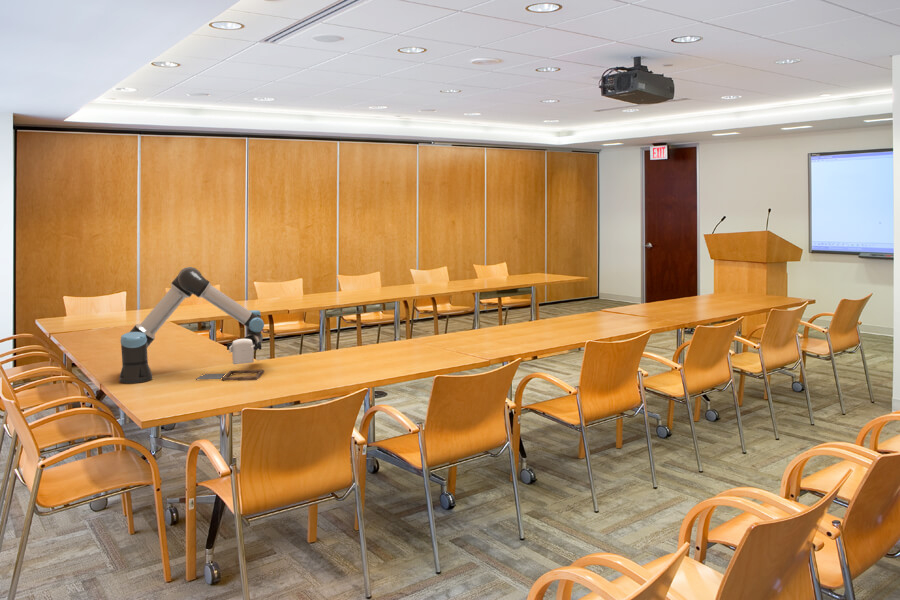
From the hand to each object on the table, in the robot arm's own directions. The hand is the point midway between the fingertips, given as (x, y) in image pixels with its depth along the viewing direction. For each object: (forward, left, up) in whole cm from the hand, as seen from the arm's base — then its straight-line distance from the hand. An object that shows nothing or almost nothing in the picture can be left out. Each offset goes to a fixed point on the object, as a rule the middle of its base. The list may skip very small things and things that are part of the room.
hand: (240, 349), depth 364 cm
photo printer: (0, +4, -8) cm, 9 cm away
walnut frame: (0, +4, -15) cm, 15 cm away
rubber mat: (-16, +5, -15) cm, 22 cm away
